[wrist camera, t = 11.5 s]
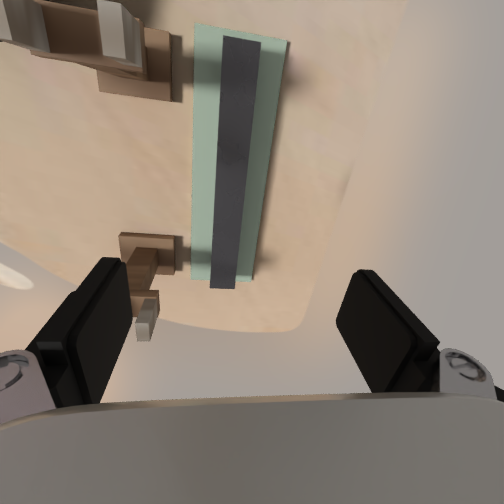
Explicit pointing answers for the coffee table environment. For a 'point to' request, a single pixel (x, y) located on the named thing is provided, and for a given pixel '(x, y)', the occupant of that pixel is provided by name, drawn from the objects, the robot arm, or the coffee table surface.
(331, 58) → the coffee table surface
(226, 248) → the rail
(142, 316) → the rack
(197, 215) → the mat
